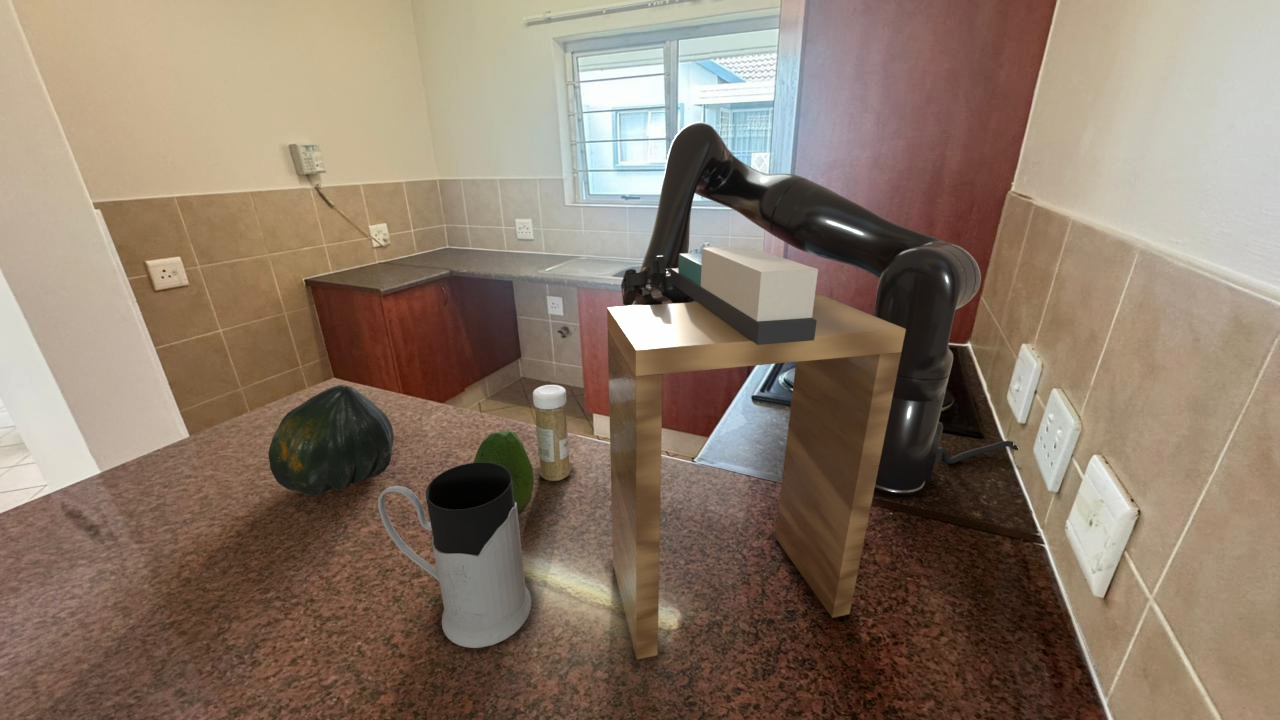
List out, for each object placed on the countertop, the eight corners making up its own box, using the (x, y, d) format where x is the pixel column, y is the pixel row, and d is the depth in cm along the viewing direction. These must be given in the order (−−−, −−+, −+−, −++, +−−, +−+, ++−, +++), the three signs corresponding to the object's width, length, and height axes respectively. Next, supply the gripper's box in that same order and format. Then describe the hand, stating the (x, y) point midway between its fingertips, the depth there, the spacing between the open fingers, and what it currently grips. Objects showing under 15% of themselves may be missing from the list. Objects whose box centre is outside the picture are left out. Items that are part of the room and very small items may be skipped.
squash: (233, 456, 68) (264, 390, 61) (334, 413, 81) (369, 356, 74) (301, 534, 67) (340, 477, 60) (392, 479, 80) (432, 427, 73)
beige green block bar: (709, 280, 57) (711, 234, 55) (814, 340, 37) (823, 270, 35) (670, 282, 56) (671, 235, 54) (756, 345, 36) (763, 273, 34)
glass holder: (510, 654, 46) (493, 520, 41) (372, 631, 48) (338, 502, 43) (543, 582, 54) (533, 463, 49) (423, 565, 56) (401, 449, 51)
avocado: (548, 505, 67) (542, 425, 62) (510, 542, 60) (500, 455, 56) (500, 490, 70) (491, 413, 65) (459, 524, 63) (446, 440, 59)
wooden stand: (790, 535, 61) (821, 294, 51) (849, 614, 50) (906, 328, 40) (613, 565, 56) (606, 307, 46) (636, 660, 46) (635, 350, 35)
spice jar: (576, 475, 73) (571, 391, 68) (547, 486, 71) (540, 399, 66) (562, 461, 77) (557, 381, 72) (534, 470, 74) (527, 388, 69)
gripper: (609, 281, 67) (630, 230, 51) (709, 276, 70) (759, 227, 54) (615, 336, 66) (639, 301, 50) (717, 329, 69) (769, 293, 53)
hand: (701, 262), depth 52 cm, fingers open, 8 cm apart
